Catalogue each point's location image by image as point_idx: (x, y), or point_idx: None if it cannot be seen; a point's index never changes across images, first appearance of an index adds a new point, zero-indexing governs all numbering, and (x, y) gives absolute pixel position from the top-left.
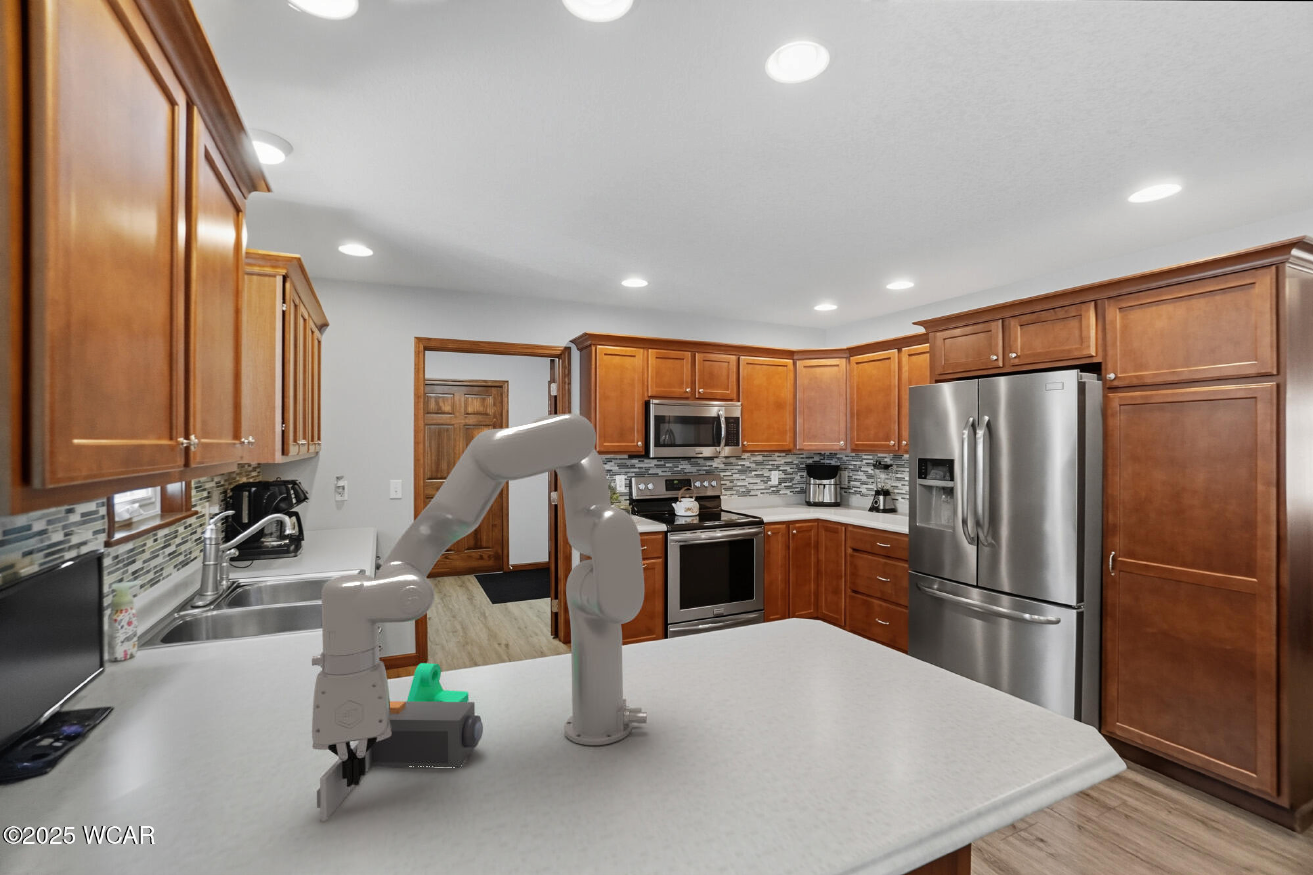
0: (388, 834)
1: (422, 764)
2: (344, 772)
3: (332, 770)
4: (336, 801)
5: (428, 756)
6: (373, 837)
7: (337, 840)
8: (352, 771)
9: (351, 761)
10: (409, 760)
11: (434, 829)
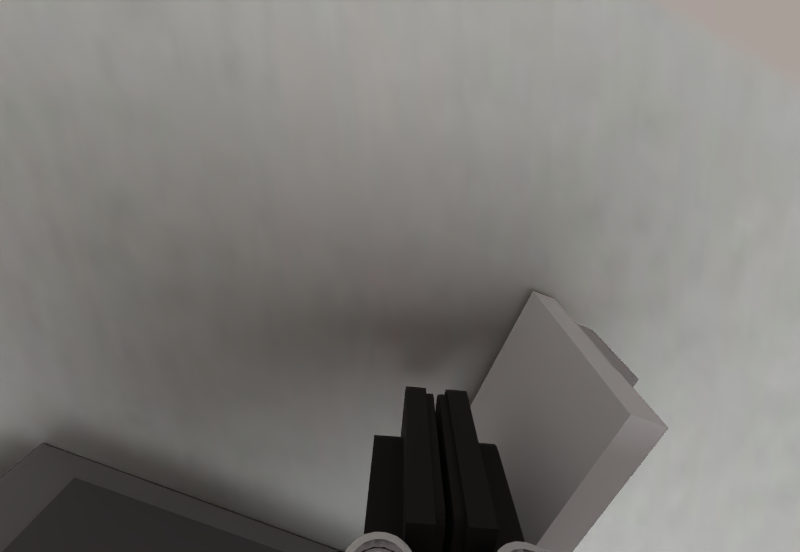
0: (261, 71)
1: (187, 510)
2: (490, 470)
3: (577, 492)
4: (499, 378)
5: (139, 532)
6: (328, 77)
7: (484, 129)
8: (442, 462)
9: (455, 518)
10: (231, 542)
11: (40, 9)
